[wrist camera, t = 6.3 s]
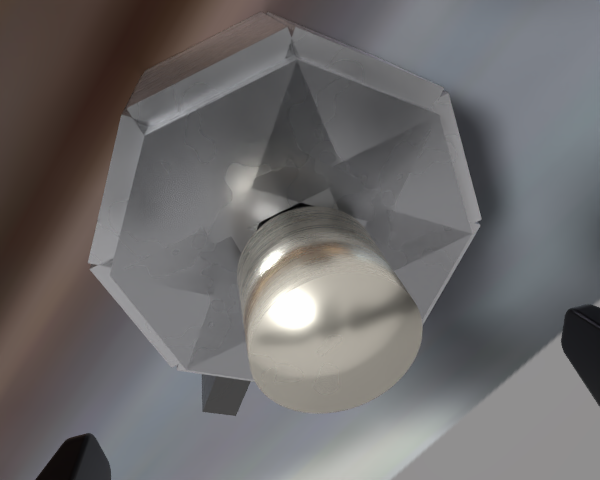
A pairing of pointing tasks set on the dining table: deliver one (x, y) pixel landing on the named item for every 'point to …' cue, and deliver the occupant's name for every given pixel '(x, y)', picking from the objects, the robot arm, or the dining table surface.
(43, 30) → the dining table surface
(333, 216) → the plunger
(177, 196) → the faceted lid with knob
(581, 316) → the robot arm
